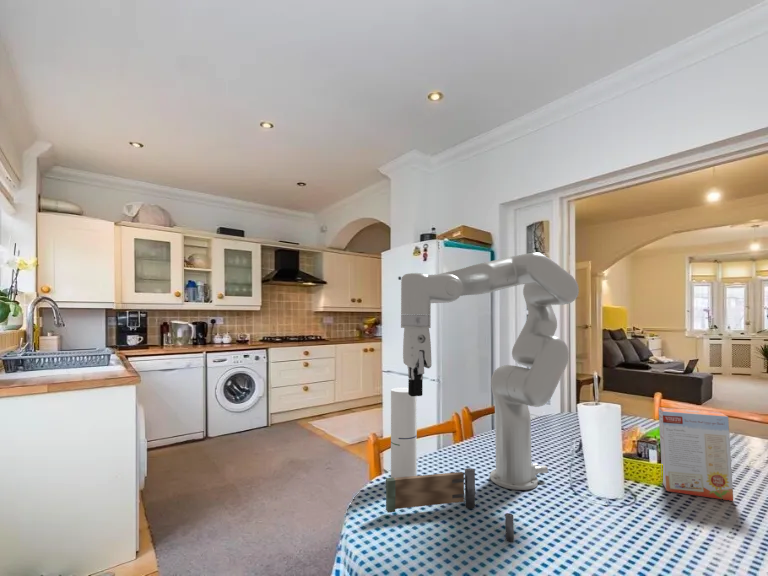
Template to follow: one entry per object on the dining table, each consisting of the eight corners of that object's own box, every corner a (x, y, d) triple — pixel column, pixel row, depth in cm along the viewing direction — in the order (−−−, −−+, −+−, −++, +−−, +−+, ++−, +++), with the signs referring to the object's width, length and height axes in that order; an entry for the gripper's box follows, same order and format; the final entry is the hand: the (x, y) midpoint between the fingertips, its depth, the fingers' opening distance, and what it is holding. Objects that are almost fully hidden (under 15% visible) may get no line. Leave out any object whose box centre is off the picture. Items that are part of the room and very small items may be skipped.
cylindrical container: (415, 488, 105) (414, 392, 107) (388, 485, 107) (388, 391, 108) (418, 477, 112) (417, 387, 114) (393, 475, 114) (393, 386, 115)
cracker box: (725, 492, 103) (721, 411, 105) (734, 502, 98) (730, 416, 99) (661, 482, 109) (658, 405, 110) (665, 491, 104) (662, 410, 105)
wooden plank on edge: (461, 501, 96) (461, 471, 97) (464, 504, 94) (464, 474, 95) (386, 508, 92) (386, 478, 93) (387, 512, 90) (387, 481, 91)
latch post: (511, 537, 82) (510, 512, 83) (515, 542, 81) (514, 516, 81) (504, 538, 82) (503, 513, 82) (508, 543, 80) (507, 517, 81)
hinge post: (472, 503, 97) (472, 467, 97) (476, 508, 95) (476, 471, 95) (463, 504, 96) (463, 468, 97) (467, 509, 94) (467, 472, 95)
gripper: (440, 323, 94) (439, 401, 93) (421, 321, 109) (420, 389, 107) (409, 322, 92) (409, 402, 91) (394, 321, 107) (393, 390, 106)
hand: (415, 395), depth 99 cm, fingers closed
